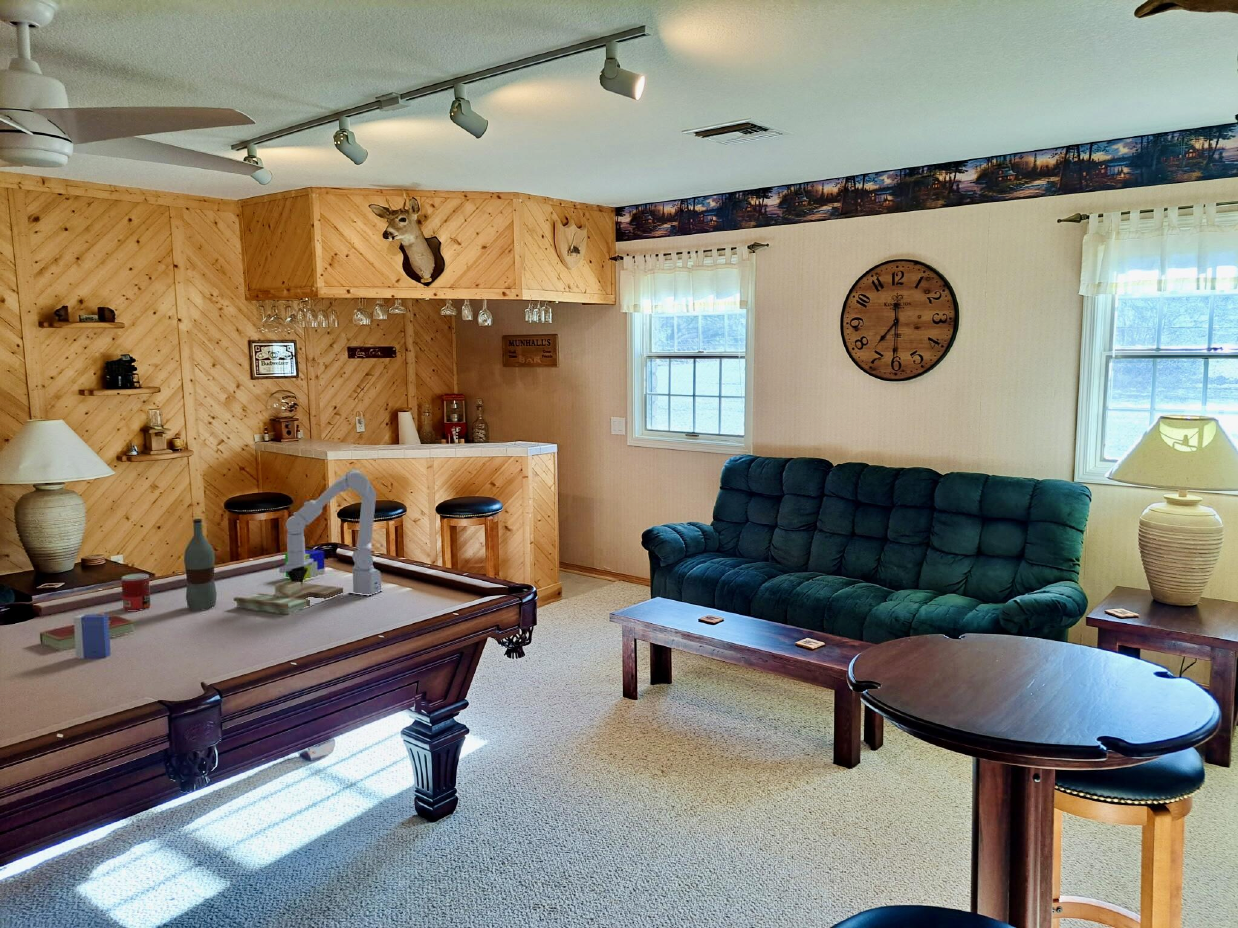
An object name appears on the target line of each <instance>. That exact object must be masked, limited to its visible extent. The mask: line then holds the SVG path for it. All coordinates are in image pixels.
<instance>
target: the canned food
mask: <svg viewBox="0 0 1238 928" xmlns="http://www.w3.org/2000/svg"><path fill="white" fill-rule="evenodd" d="M150 587H151V586H150V577H149V574H147V573H131V574H126V575H124V576H122V577H121V592H122V593H121V595H122V596H121V597H122V607H123V610H124V609H125V610H140V609H145V610H147V609H146V608H148V607H149V608H150V607H151V591H150ZM149 608H148V609H149ZM125 610H124V611H125ZM140 611H141V610H140Z"/></svg>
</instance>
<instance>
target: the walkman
mask: <svg viewBox="0 0 1238 928" xmlns="http://www.w3.org/2000/svg"><path fill="white" fill-rule="evenodd" d="M108 617H109V614H107V613H104V612H103V613H102V612H100V613H98V614H96V613H95V614H78V615H77V616H76V615H75V616H74V617H73V625H74V629H75V631H74V632H75V646H76V647H75V658H77V659H97V658H98V659H99V658H101V659H102V658H103V659H105V658H107V657H109V656H110V655H111V653H112V651H111V641H110V640H111V638H110V636H109V621H108Z"/></svg>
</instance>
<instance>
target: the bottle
mask: <svg viewBox="0 0 1238 928" xmlns="http://www.w3.org/2000/svg"><path fill="white" fill-rule="evenodd" d="M192 522H193V536H192V538H191V540H190V541H189V542H188V545H187V546H186V547H185V550H184V554H183V555H184V556H183V557H184V558H183V563H184V569H185V574H186V575H185V576H186V583H187V584H186V591H185V592H186V594H185V600H186V604H187V608H188V610H189V609H191V610H190V611H194V610H200V611H203V610H202V609H208V610H210V608H211V609H213V608H212V607H214V606H215V607H216V603H217V596H218V595H217V589H216V584H215V564H216V563H215V562H216V557H215V551H214V548H213V546H212V545H211V542H209V541H208V539H207V538H206V537H205V536H204V534H203V519H202V518H194V519H192ZM215 607H214V608H215Z"/></svg>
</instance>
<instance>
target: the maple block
mask: <svg viewBox="0 0 1238 928" xmlns="http://www.w3.org/2000/svg"><path fill="white" fill-rule="evenodd" d="M274 594H275V596H278V597H286V598H290V597H293V596H296V595H299V594H302V589H301V582H295V581H291V580H285V581H283V582H278V583H276V584H274Z"/></svg>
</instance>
